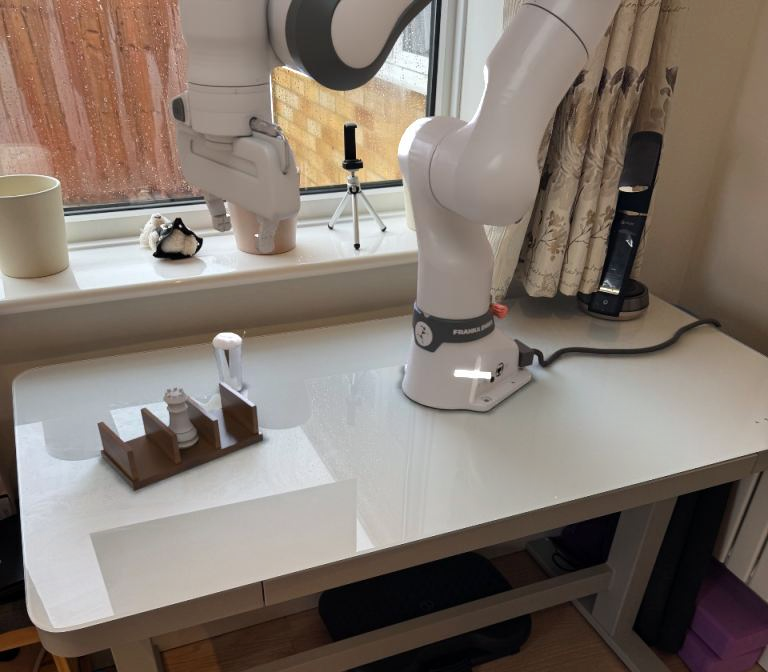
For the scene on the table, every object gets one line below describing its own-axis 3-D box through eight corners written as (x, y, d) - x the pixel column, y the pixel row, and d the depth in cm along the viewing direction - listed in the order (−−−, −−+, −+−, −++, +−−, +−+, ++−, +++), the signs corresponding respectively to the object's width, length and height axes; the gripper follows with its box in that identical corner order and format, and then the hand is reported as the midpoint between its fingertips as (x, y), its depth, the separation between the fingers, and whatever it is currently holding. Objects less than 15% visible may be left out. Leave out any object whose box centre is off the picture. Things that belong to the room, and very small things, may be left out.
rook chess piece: (195, 451, 104) (187, 400, 99) (163, 450, 104) (153, 399, 99) (201, 433, 107) (194, 383, 102) (170, 432, 107) (162, 383, 102)
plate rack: (227, 412, 114) (223, 379, 111) (263, 440, 108) (260, 406, 105) (101, 457, 104) (93, 422, 100) (134, 490, 98) (126, 454, 94)
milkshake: (245, 397, 118) (239, 338, 112) (213, 393, 119) (206, 334, 113) (255, 383, 122) (250, 326, 116) (224, 380, 123) (217, 322, 117)
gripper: (312, 124, 77) (315, 259, 85) (209, 94, 89) (222, 215, 97) (259, 131, 73) (269, 270, 82) (161, 99, 85) (178, 223, 94)
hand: (242, 240), depth 89 cm, fingers open, 8 cm apart
